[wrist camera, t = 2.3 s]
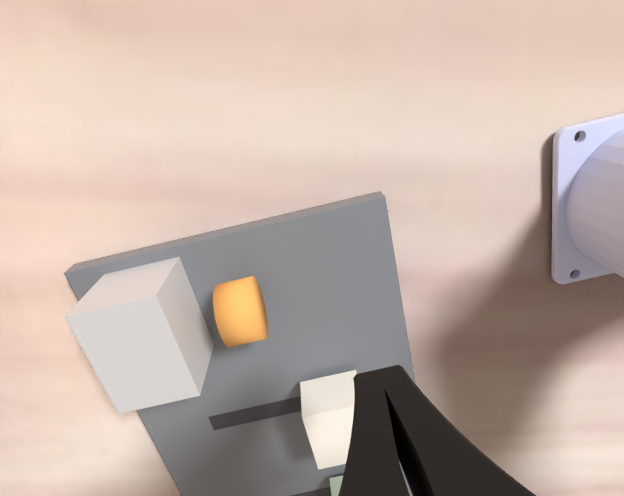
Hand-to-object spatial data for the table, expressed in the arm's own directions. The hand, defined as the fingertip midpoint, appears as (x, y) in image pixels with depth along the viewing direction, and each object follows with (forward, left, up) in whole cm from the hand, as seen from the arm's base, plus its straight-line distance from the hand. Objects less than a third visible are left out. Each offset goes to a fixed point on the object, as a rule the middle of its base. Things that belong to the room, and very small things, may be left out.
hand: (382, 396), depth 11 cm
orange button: (+4, 0, -8) cm, 9 cm away
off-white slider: (+2, +7, -8) cm, 11 cm away
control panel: (+5, +7, -9) cm, 13 cm away
